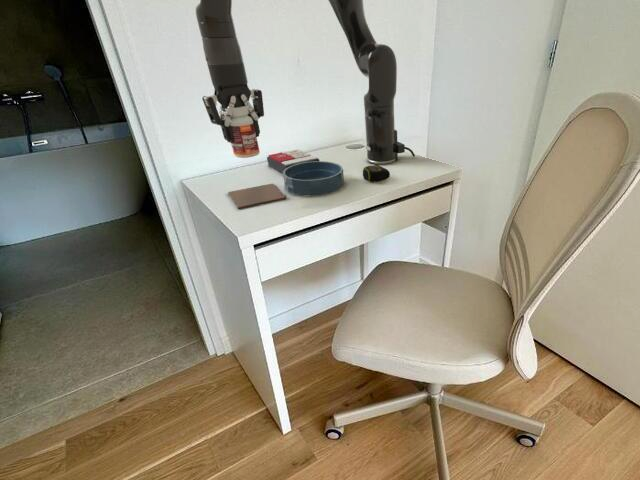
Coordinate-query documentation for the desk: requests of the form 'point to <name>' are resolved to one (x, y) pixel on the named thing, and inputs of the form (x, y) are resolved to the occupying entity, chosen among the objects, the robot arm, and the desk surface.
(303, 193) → the bowl
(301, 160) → the calculator
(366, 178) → the tape measure
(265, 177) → the desk surface
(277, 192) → the coaster
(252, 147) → the pill bottle
